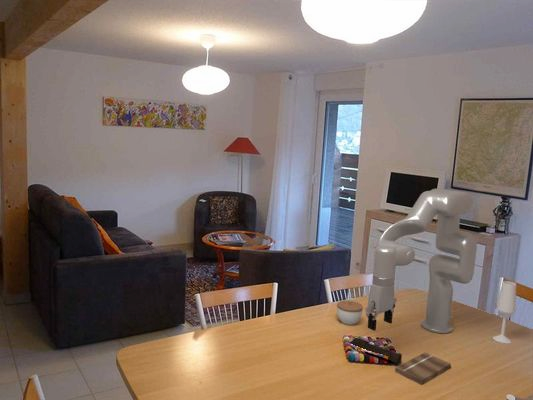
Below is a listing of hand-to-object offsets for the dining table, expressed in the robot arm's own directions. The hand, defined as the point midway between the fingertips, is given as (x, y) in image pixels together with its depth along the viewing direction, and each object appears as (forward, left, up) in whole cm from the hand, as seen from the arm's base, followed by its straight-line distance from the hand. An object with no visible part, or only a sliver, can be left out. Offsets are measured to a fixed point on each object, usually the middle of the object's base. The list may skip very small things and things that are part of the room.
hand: (379, 325), depth 165 cm
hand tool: (+2, 0, -12) cm, 12 cm away
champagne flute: (-54, +22, -11) cm, 60 cm away
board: (-4, +16, -11) cm, 20 cm away
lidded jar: (-14, -25, -11) cm, 31 cm away
